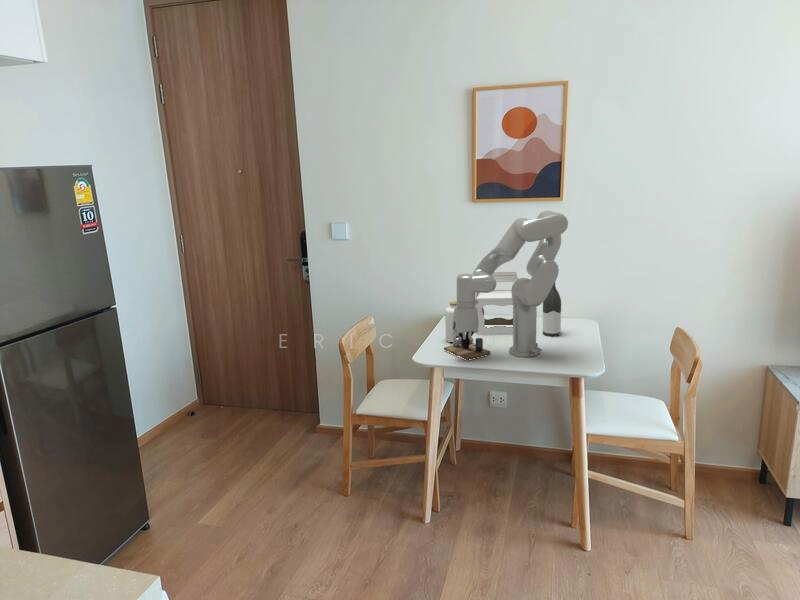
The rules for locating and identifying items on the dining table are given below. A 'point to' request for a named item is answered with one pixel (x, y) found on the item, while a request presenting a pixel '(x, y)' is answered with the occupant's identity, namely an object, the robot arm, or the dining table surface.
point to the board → (466, 351)
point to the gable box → (495, 299)
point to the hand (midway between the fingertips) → (465, 347)
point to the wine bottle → (552, 313)
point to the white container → (450, 321)
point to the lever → (478, 345)
